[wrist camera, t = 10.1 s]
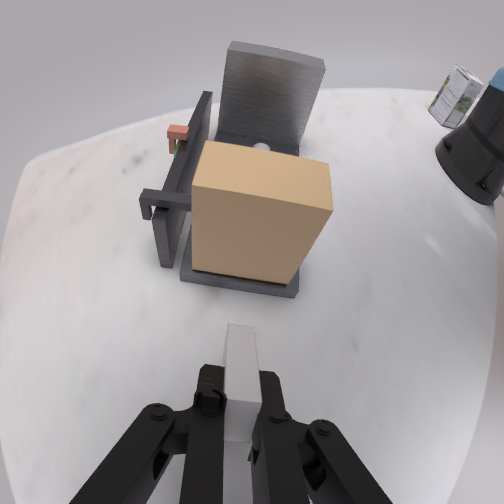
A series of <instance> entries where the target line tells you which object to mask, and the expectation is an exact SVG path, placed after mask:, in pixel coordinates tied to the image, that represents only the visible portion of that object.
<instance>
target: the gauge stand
mask: <svg viewBox="0 0 504 504" xmlns="http://www.w3.org/2000/svg"><path fill="white" fill-rule="evenodd" d="M325 70H326V69H325V65H324V61H323V59H320V58H316V57H312V56H308V55H304V54H300V53H296V52H292V51H287V50H282V49H278V48H273V47H267V46H262V45H256V44H249V43H243V42H236V41H232V42H231V44H230V46H229V48H228V50H227V57H226V64H225V71H224V79H223V86H222V95H221V102H220V111H219V119H218V128H217V133H216V137H215V140H214V141H215V142H222V143H228V144H234V145H240V146H246V147H253V146H254V145H255V144H257V143H264V144H266V145H268V146H269V148H270V151H273V152H278V153H283V154H288V155H293V156H297V157H299V144H300V141H301V138H302V136H303V133H304V130H305V127H306V124H307V121H308V119H309V116H310V113H311V110H312V107H313V104H314V102H315V99H316V96H317V93H318V90H319V87H320V85H321V82H322V78H323V76H324V73H325ZM211 103H212V92H208V91H203V94H202V96H201V98H200V100H199V102H198V104H197V106H196V108H195V111H194V113H193V115H192V117H191V120H190V122H189V124H188V127H189V135H188V138H187V140H178V143H177V145H176V147H175V150H174V160H173V163H172V165H171V168H170V170H169V173H168V175H167V178H166V181H165V183H164V186H163V189H162V191H167V192H174V193H181V194H188V195H191V194H192V182H193V179H194V176H195V173H196V169H197V166H198V163H199V160H200V157H201V154H202V151H203V148H204V144H205V141H206V140H208V136H209V124H210V113H211ZM185 215H186V211H185V210H178V209H171V208H165V207H158V206H156V208H155V211H154V214H153V217H152V225H153V230H154V235H155V241H156V246H157V251H158V255H159V260H160V265H161V267H166V268H172V265H173V261H174V257H175V253H176V249H177V245H178V241H179V237H180V234H181V230H182V226H183V222H184V219H185ZM180 281H186V282H192V283H198V284H204V285H210V286H216V287H222V288H228V289H235V290H241V291H248V292H254V293H261V294H268V295H275V296H282V297H289V298H294V297H295V296H296V294H297V293H298V292H299V268H298V270H297V271H296V273H295V274H294V276H293V278H292V279H291V281H290V282H289V284H283V283H276V282H270V281H263V280H256V279H250V278H244V277H237V276H231V275H225V274H219V273H212V272H206V271H200V270H194V269H192V223H191V227H190V231H189V235H188V239H187V243H186V247H185V252H184V256H183V260H182V264H181V269H180Z"/></svg>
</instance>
